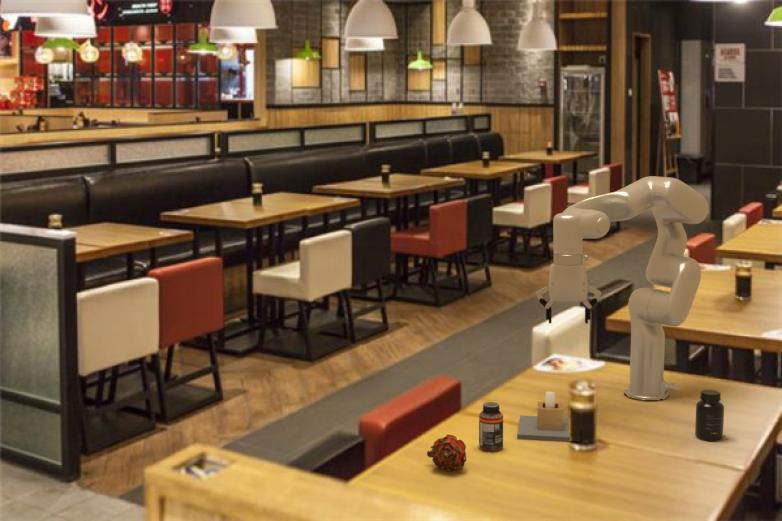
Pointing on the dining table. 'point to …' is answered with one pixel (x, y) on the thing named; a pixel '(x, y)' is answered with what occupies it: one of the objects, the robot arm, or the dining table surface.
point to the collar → (550, 417)
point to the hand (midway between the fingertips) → (568, 322)
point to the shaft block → (530, 432)
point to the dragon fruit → (448, 453)
